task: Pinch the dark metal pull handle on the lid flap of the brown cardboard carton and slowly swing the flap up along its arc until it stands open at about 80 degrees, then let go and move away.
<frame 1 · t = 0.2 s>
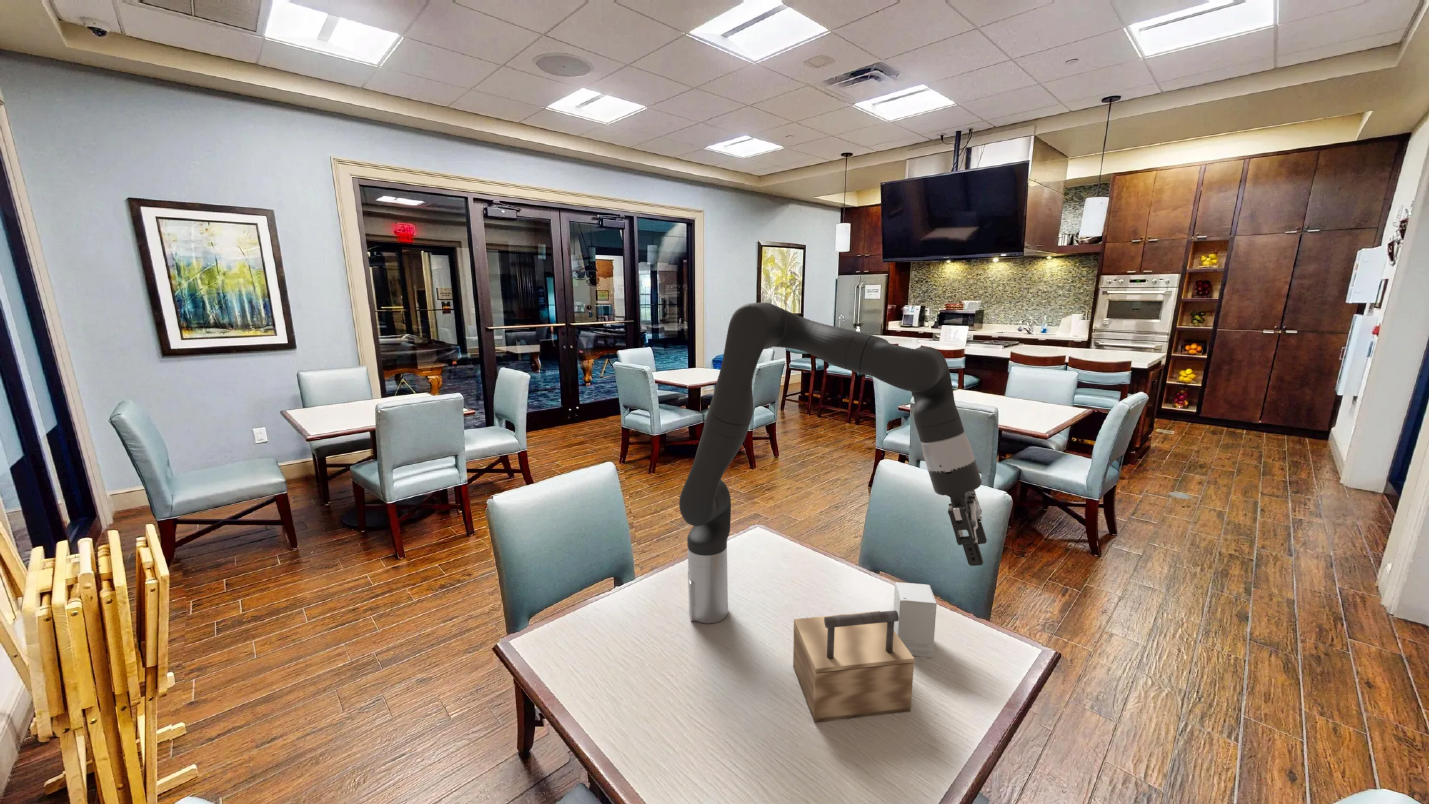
hand: (978, 553, 87), 31 cm above the table, tool tilted 20°, fingers open, 8 cm apart
carton flap: (851, 620, 96), point 15 cm above the table, hinge at 0.0°
carton: (848, 688, 99), on the table
supplement box: (911, 645, 111), on the table
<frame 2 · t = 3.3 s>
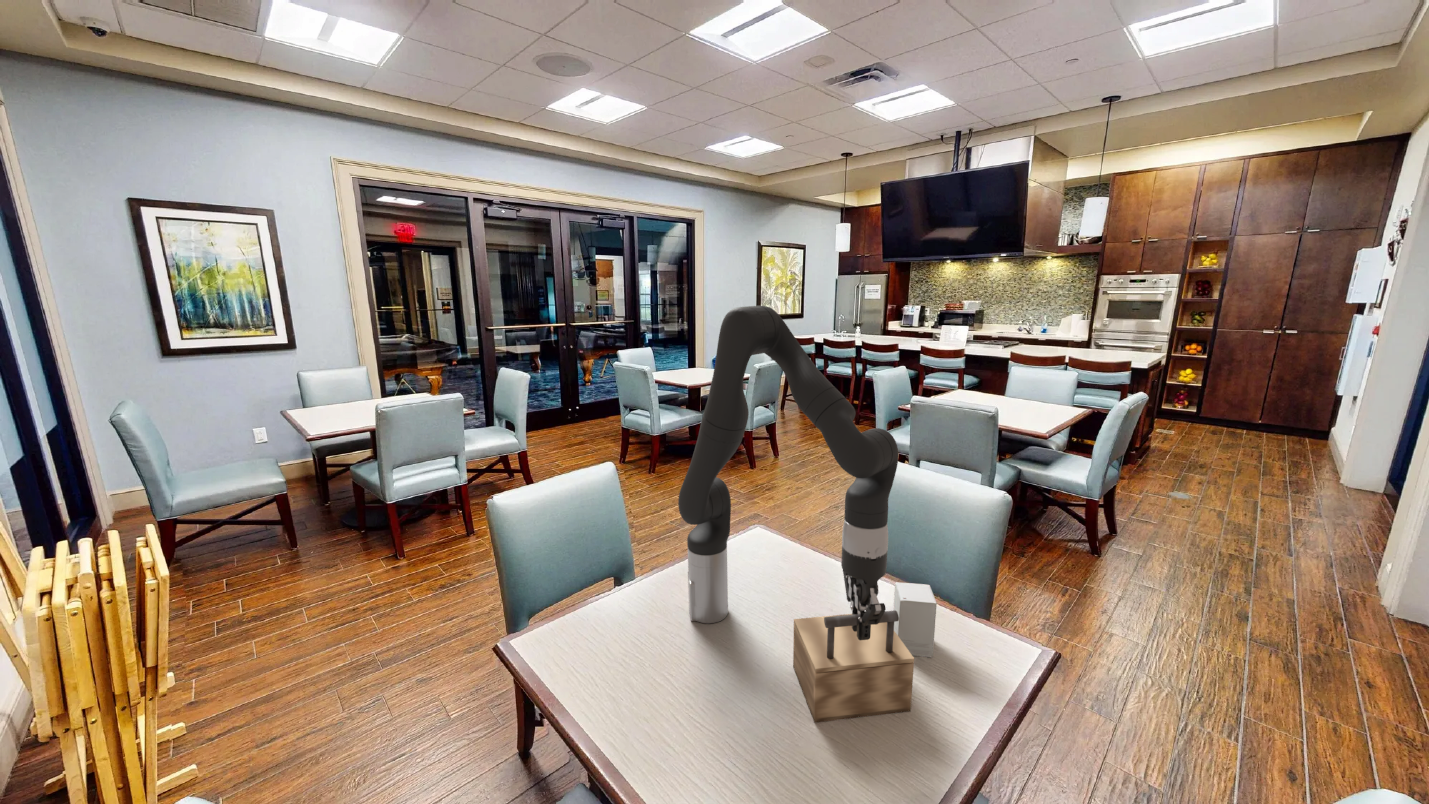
hand: (860, 634, 92), 15 cm above the table, tool pointing down, fingers closed on carton flap, 2 cm apart
carton flap: (851, 620, 96), point 15 cm above the table, hinge at 0.0°, touching gripper
everything else where it was.
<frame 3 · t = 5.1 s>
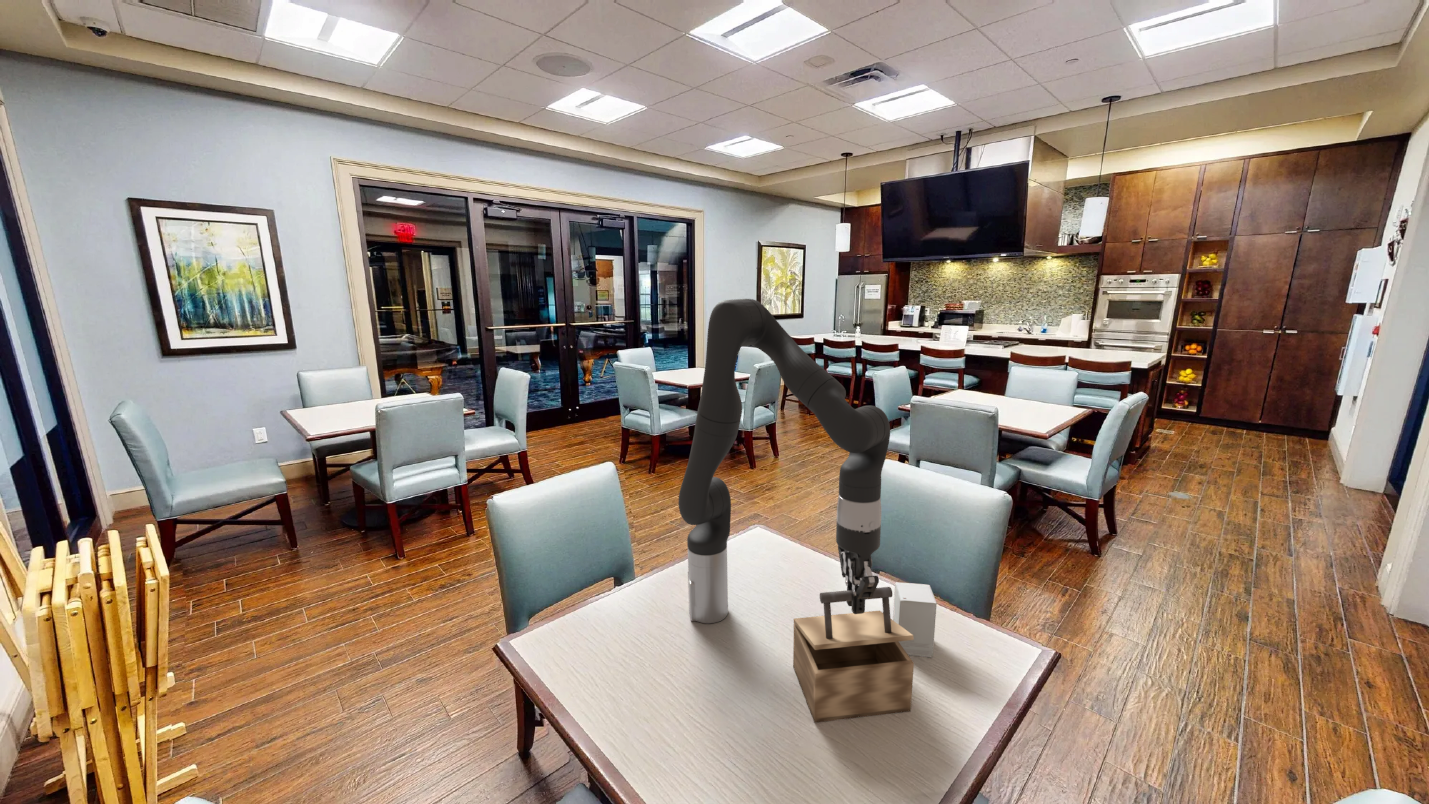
hand: (855, 608, 94), 18 cm above the table, tool pointing down, fingers closed on carton flap, 2 cm apart
carton flap: (848, 607, 97), point 16 cm above the table, hinge at 16.9°, touching gripper
everything else where it was.
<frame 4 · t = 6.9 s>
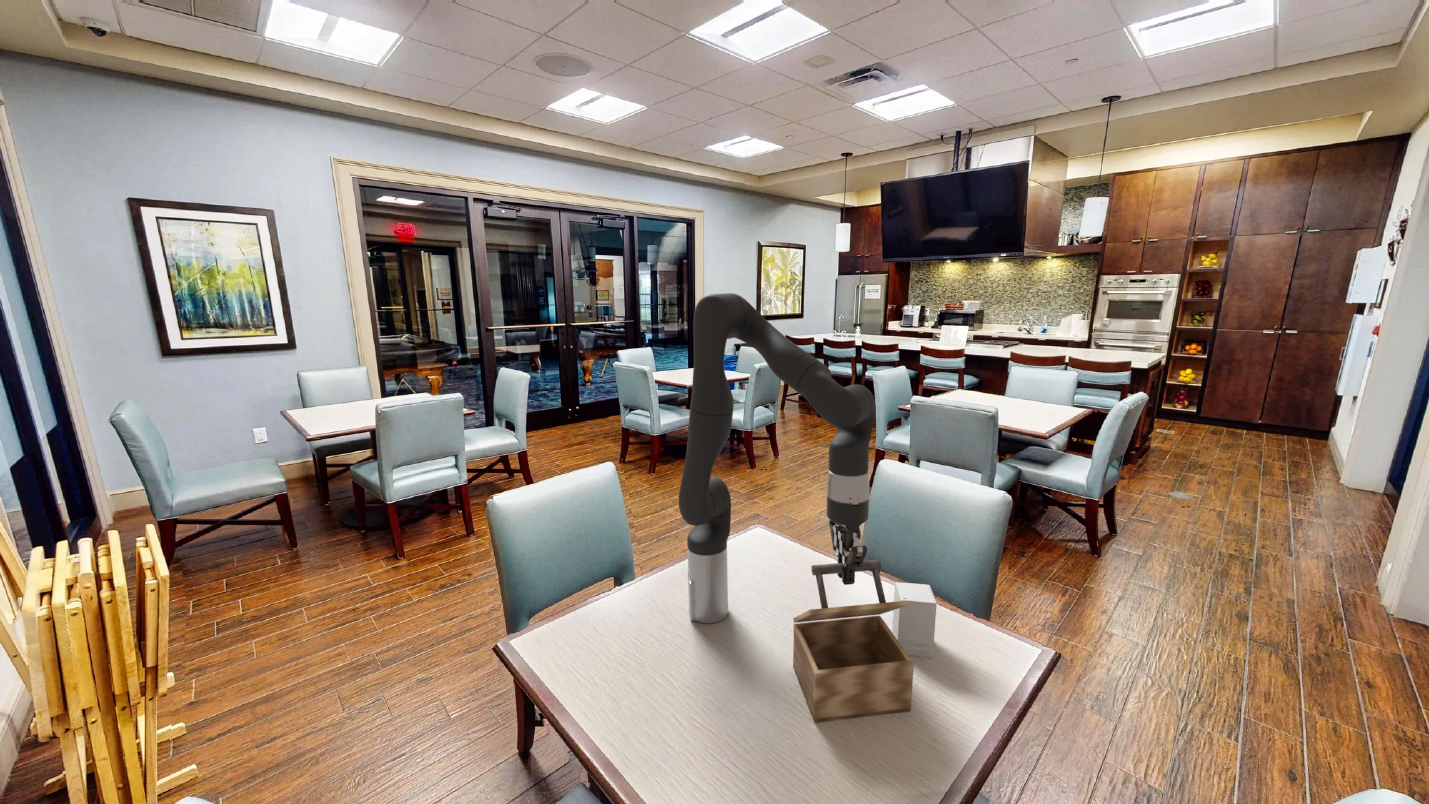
hand: (845, 579, 98), 21 cm above the table, tool pointing down, fingers closed on carton flap, 2 cm apart
carton flap: (842, 590, 100), point 18 cm above the table, hinge at 40.5°, touching gripper
everything else where it was.
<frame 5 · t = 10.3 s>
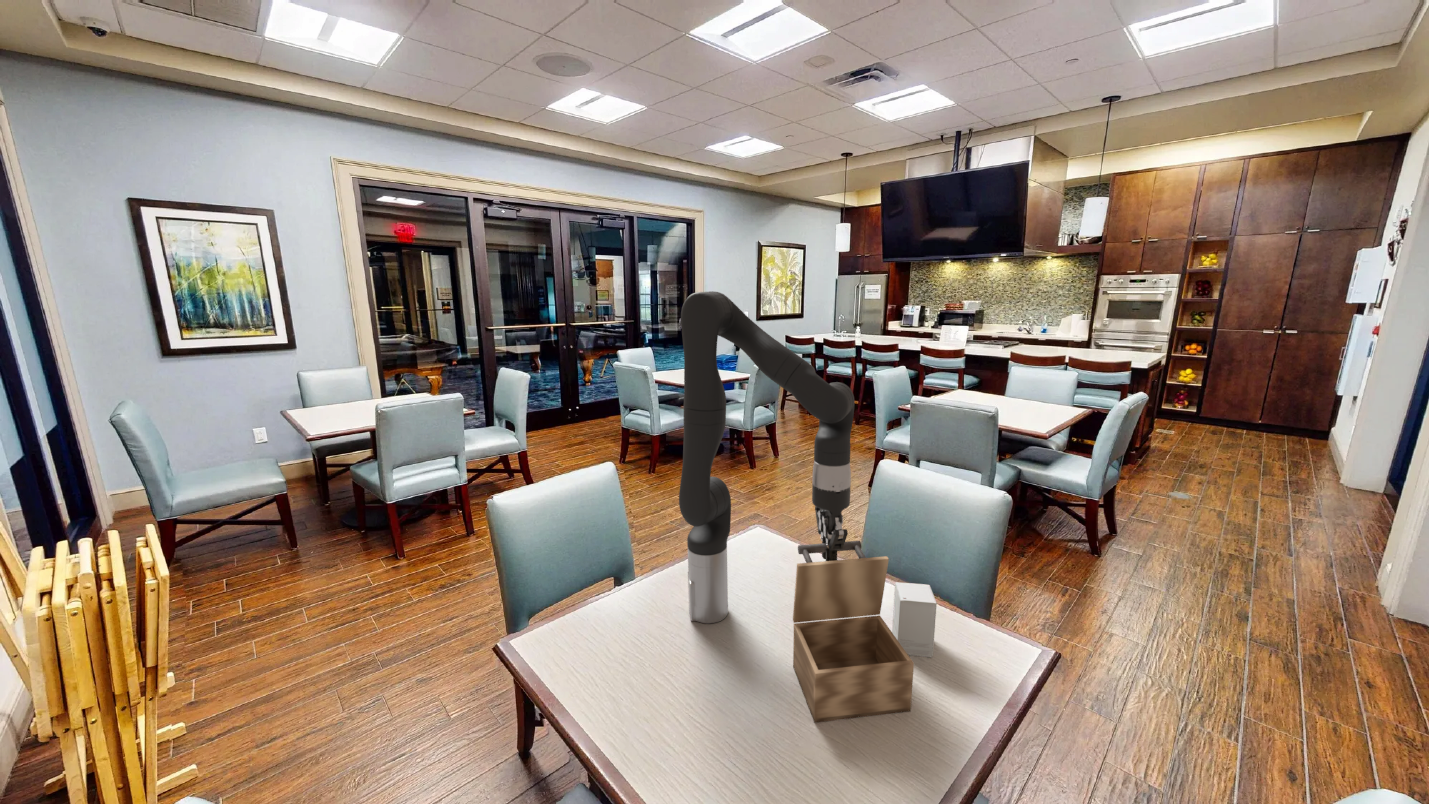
hand: (829, 560, 107), 20 cm above the table, tool pointing down, fingers closed on carton flap, 2 cm apart
carton flap: (833, 576, 105), point 18 cm above the table, hinge at 79.6°, touching gripper
everything else where it was.
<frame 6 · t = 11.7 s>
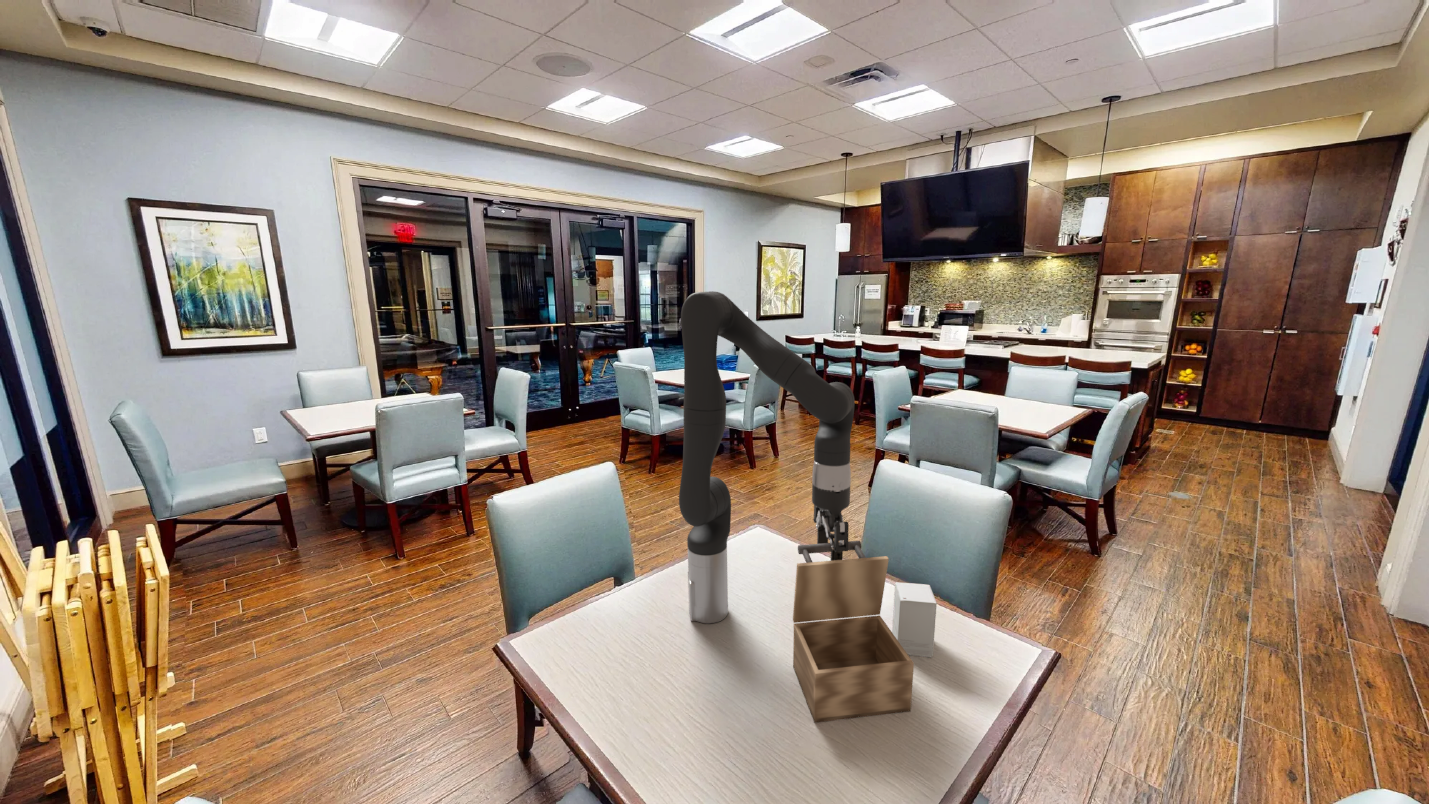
hand: (829, 555, 107), 21 cm above the table, tool pointing down, fingers open, 8 cm apart
carton flap: (833, 576, 105), point 18 cm above the table, hinge at 79.8°
everything else where it was.
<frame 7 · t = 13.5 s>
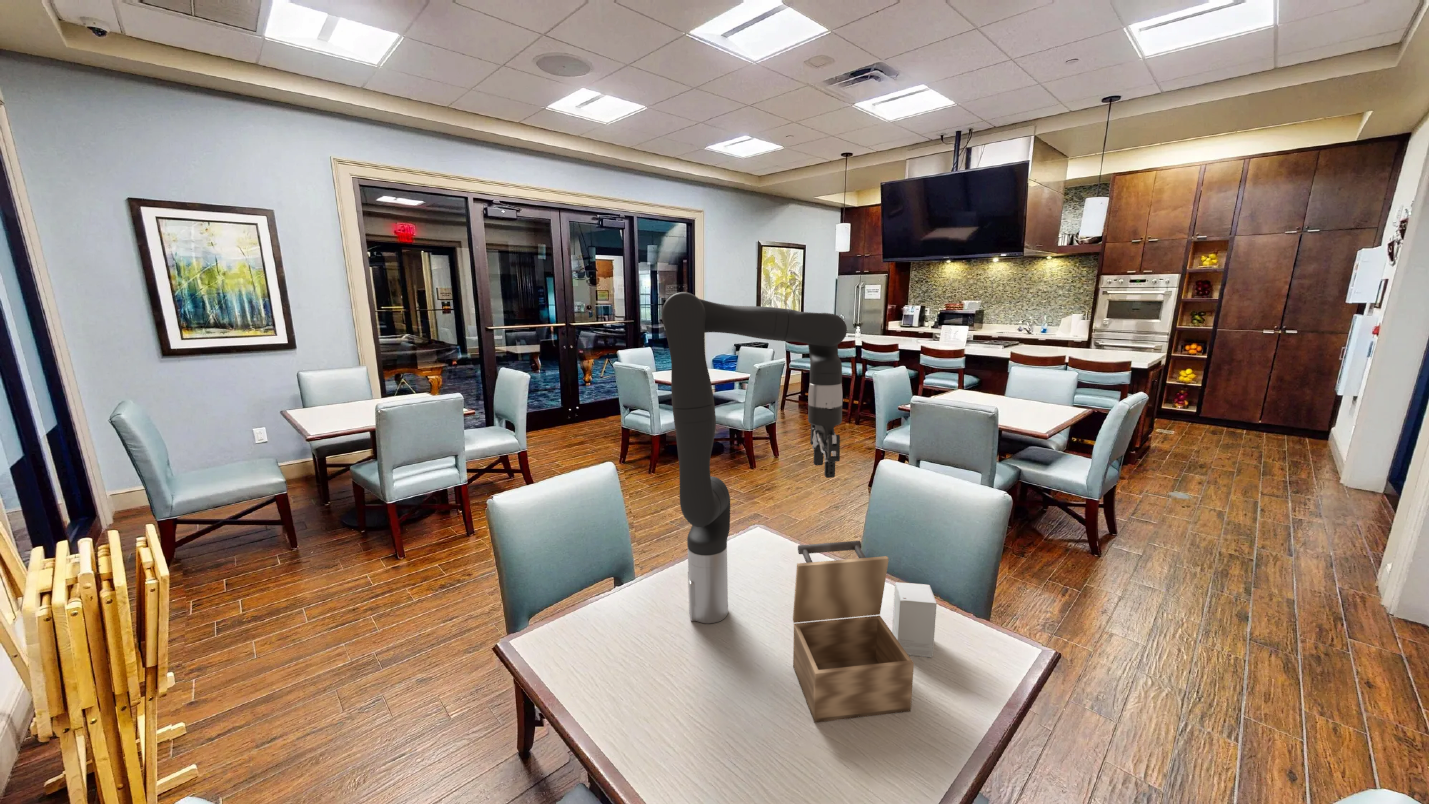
hand: (823, 470, 120), 34 cm above the table, tool pointing down, fingers open, 8 cm apart
nothing on the table moved.
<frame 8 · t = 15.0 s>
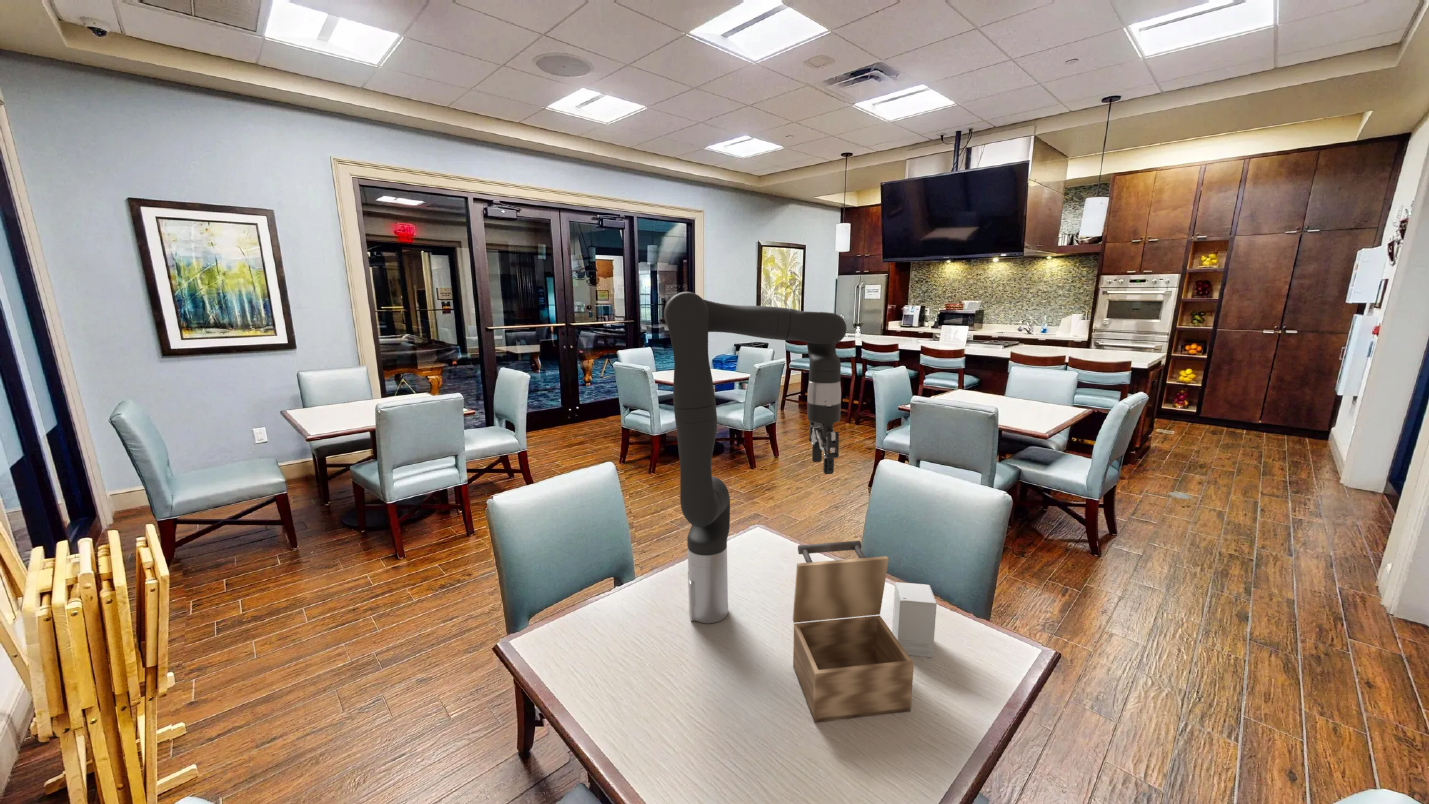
hand: (822, 467, 122), 34 cm above the table, tool pointing down, fingers open, 8 cm apart
nothing on the table moved.
at the end: carton flap at +80° (first picture: +0°); the gripper is holding nothing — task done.
